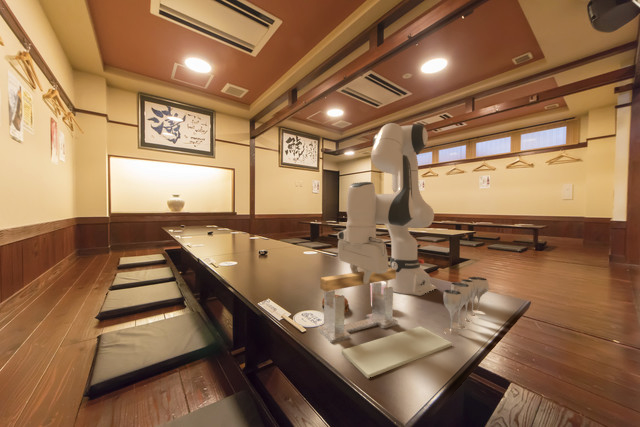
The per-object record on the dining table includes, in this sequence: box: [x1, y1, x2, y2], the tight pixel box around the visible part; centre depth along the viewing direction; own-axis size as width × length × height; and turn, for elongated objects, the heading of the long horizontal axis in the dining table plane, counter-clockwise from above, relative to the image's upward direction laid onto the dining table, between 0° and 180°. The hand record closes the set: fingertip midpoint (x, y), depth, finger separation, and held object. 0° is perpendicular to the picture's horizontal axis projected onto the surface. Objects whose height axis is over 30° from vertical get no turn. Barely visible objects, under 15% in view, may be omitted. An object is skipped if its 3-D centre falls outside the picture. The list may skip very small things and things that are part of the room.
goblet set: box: [442, 276, 490, 337], centre depth 79 cm, size 28×6×13 cm, turn 130°
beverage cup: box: [369, 281, 387, 307], centre depth 89 cm, size 6×6×14 cm
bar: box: [319, 267, 396, 292], centre depth 73 cm, size 26×3×3 cm, turn 118°
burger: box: [321, 294, 350, 315], centre depth 86 cm, size 10×9×5 cm
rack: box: [317, 282, 399, 344], centre depth 73 cm, size 24×8×12 cm, turn 118°
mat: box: [341, 326, 453, 379], centre depth 62 cm, size 28×10×1 cm, turn 118°
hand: (360, 281), depth 73 cm, fingers closed on bar, 3 cm apart
